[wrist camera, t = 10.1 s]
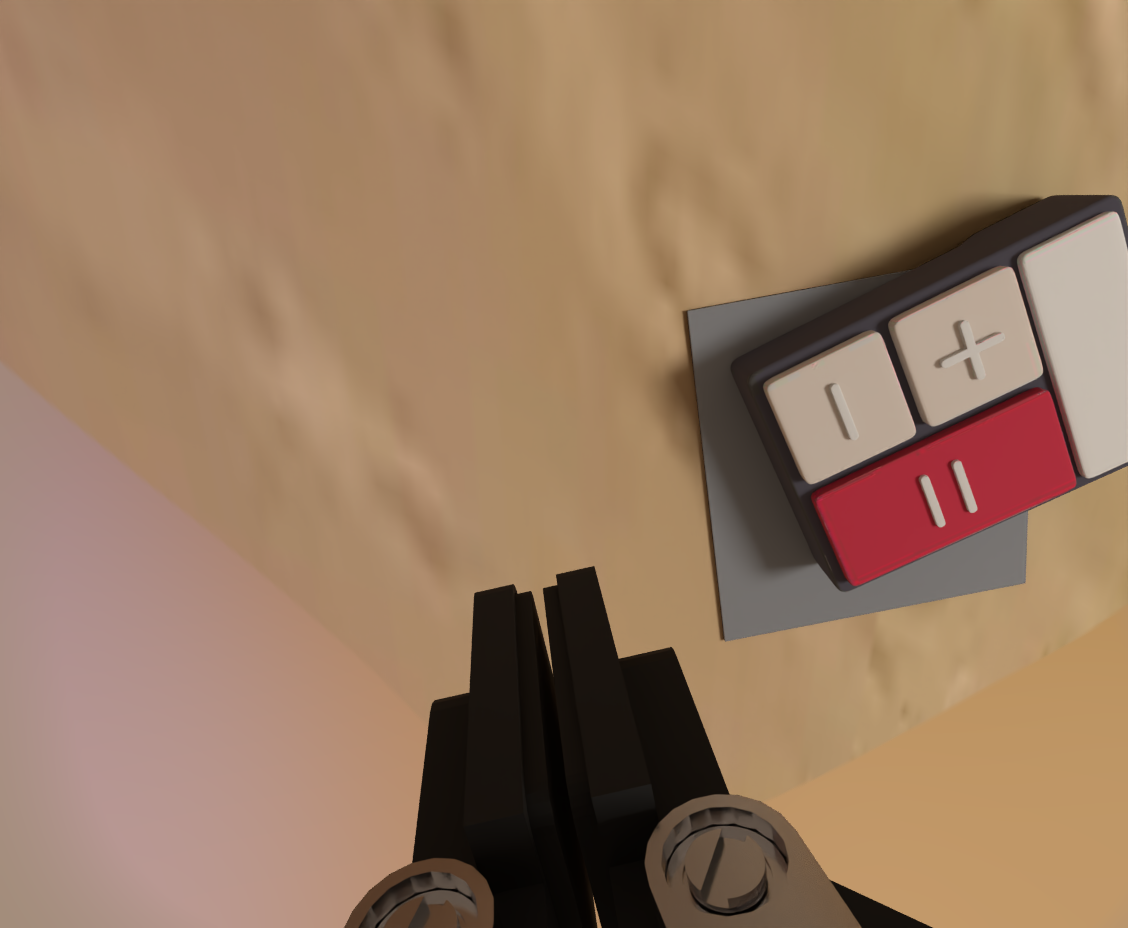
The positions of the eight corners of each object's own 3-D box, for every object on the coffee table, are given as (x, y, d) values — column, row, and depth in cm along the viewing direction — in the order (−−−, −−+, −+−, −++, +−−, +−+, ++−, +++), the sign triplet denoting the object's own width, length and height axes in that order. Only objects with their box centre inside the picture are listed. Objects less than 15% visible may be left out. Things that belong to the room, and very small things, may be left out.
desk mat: (686, 310, 31) (687, 311, 31) (1034, 247, 32) (1037, 247, 32) (724, 639, 36) (725, 641, 36) (1023, 581, 37) (1025, 583, 37)
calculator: (748, 382, 29) (1137, 189, 27) (722, 359, 33) (1057, 190, 31) (847, 606, 32) (1197, 449, 30) (812, 560, 36) (1119, 419, 34)
